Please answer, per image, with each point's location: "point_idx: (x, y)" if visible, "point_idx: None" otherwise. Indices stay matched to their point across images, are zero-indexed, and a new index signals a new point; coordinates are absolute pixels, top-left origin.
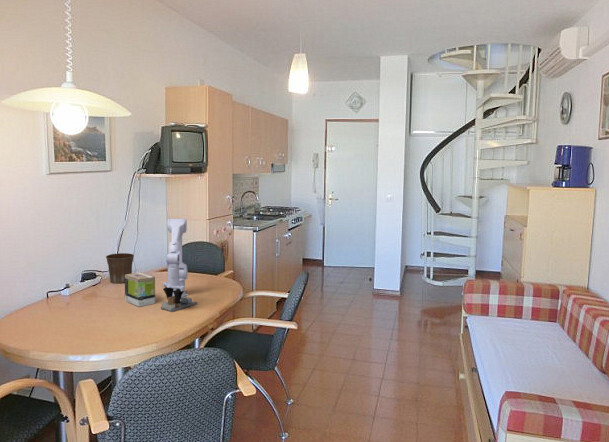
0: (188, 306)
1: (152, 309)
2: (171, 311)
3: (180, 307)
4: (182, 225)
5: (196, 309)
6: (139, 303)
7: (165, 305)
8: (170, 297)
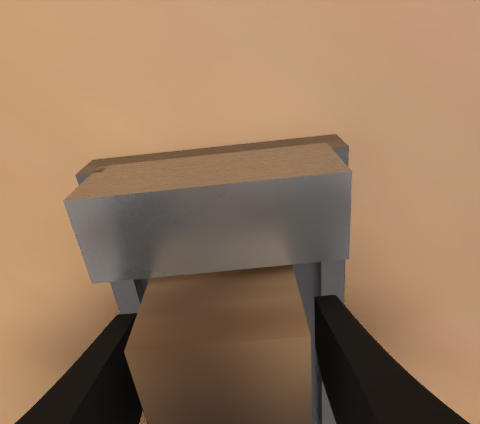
0: None
1: (444, 19)
2: (94, 161)
3: (125, 313)
4: None
5: (24, 392)
6: None
7: (233, 171)
8: (270, 370)
